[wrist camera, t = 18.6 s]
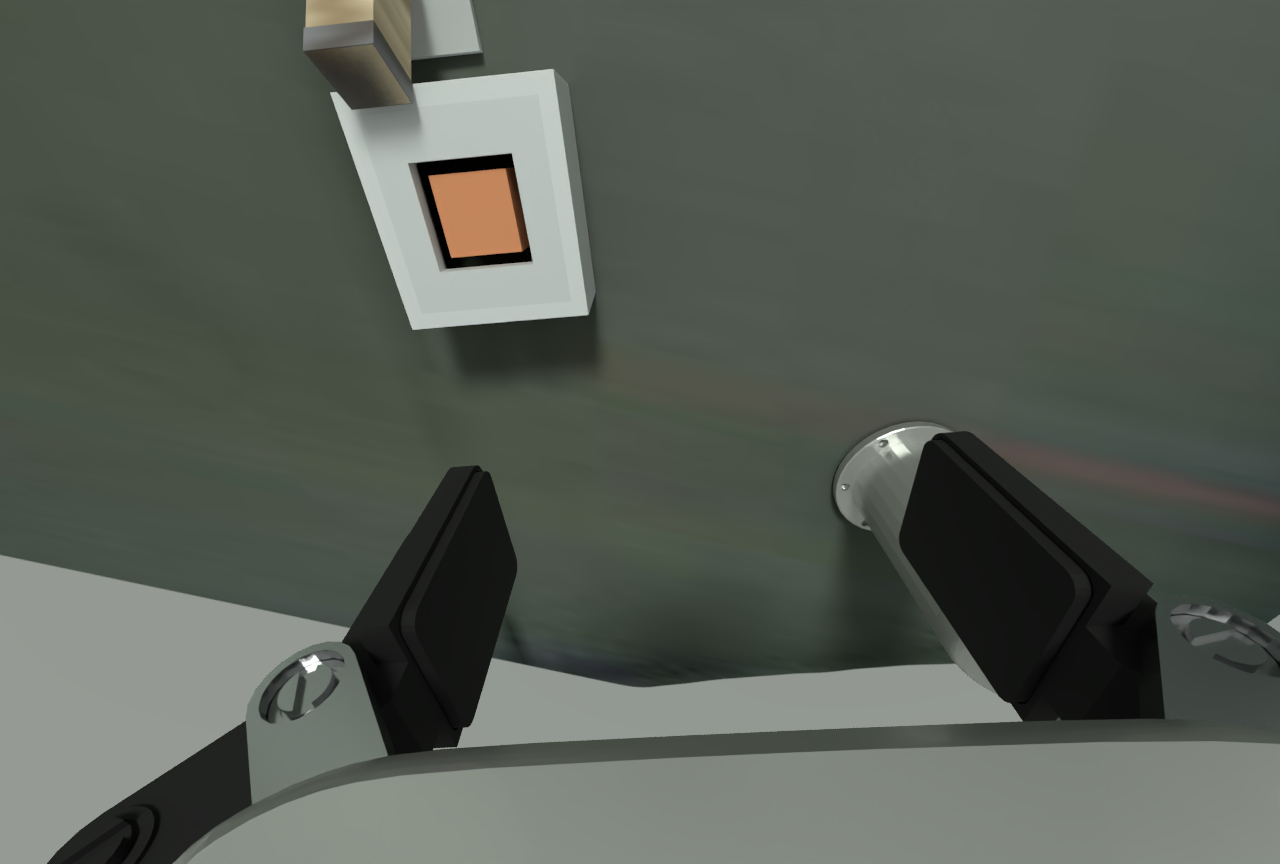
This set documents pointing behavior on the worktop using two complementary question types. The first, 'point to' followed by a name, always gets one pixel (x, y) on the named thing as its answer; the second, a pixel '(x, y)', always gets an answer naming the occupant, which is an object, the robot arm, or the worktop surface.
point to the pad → (443, 29)
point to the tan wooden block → (362, 49)
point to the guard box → (464, 128)
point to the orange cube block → (480, 212)
